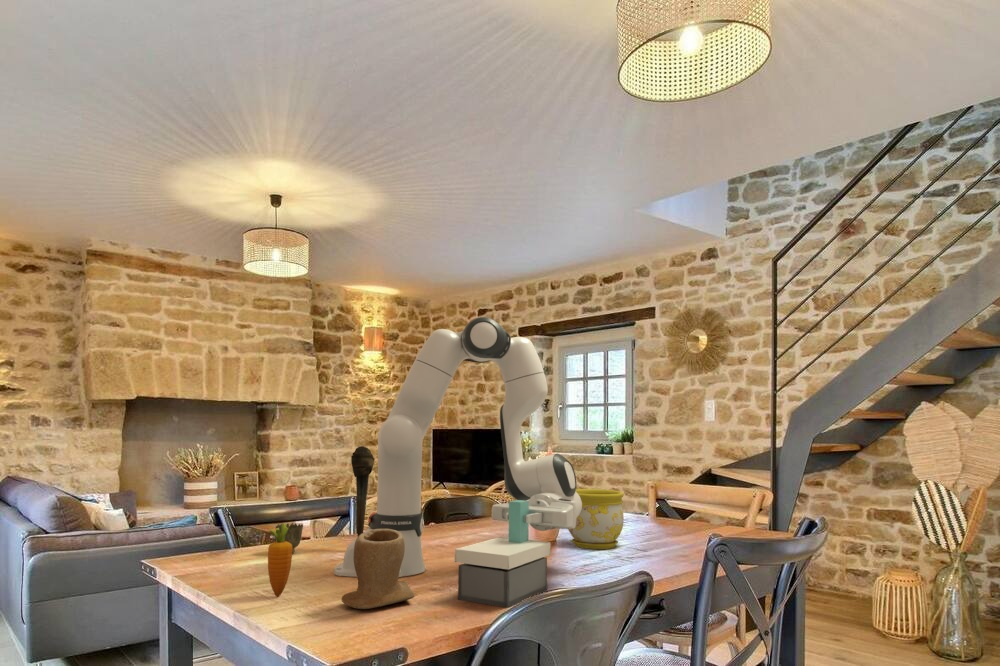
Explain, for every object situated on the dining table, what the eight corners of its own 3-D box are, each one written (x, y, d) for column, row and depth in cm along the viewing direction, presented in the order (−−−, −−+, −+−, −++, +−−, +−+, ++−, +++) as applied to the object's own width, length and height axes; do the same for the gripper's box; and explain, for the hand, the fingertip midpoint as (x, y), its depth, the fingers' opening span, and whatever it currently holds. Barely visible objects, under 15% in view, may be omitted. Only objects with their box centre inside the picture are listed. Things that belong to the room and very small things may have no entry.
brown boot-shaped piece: (363, 618, 128) (366, 537, 130) (334, 605, 137) (337, 529, 139) (428, 605, 138) (430, 530, 140) (397, 593, 147) (399, 523, 149)
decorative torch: (374, 552, 193) (378, 446, 197) (351, 554, 190) (356, 446, 194) (366, 548, 199) (369, 445, 203) (343, 550, 195) (348, 446, 199)
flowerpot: (554, 546, 206) (555, 491, 208) (582, 538, 221) (582, 487, 223) (608, 553, 196) (608, 496, 198) (633, 545, 211) (633, 491, 213)
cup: (296, 556, 186) (298, 526, 187) (270, 556, 186) (272, 526, 187) (304, 551, 193) (306, 523, 194) (279, 551, 193) (280, 522, 194)
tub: (507, 607, 137) (507, 572, 137) (458, 599, 143) (458, 565, 144) (546, 589, 152) (546, 557, 153) (501, 582, 158) (501, 552, 159)
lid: (508, 569, 137) (509, 510, 138) (454, 562, 143) (456, 505, 145) (550, 554, 153) (550, 501, 155) (500, 548, 160) (501, 498, 161)
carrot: (276, 601, 139) (280, 526, 141) (260, 597, 142) (264, 524, 144) (295, 596, 144) (298, 524, 146) (279, 593, 146) (283, 522, 148)
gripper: (507, 495, 172) (478, 500, 160) (581, 501, 161) (556, 507, 149) (507, 521, 171) (478, 528, 159) (581, 528, 160) (556, 536, 149)
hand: (516, 518), depth 154 cm, fingers closed on lid, 3 cm apart
